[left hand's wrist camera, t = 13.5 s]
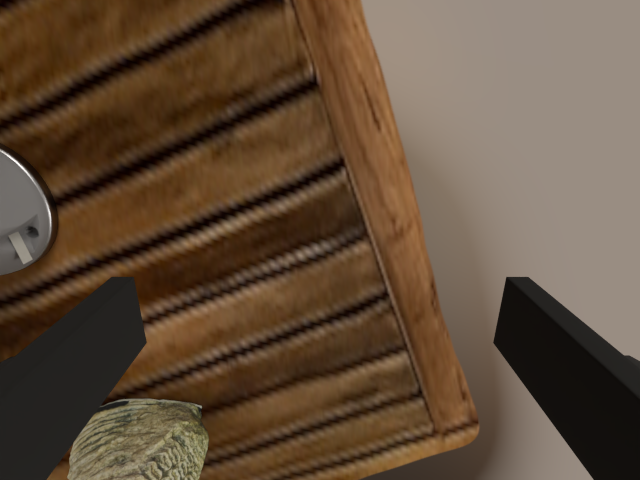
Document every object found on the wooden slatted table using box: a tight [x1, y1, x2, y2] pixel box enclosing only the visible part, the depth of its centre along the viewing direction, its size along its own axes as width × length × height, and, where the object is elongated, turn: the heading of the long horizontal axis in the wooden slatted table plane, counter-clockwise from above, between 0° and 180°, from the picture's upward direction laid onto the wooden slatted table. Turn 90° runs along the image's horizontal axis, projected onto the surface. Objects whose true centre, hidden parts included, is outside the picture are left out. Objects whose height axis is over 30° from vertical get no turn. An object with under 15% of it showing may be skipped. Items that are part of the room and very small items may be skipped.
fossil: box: [67, 399, 209, 480], centre depth 44 cm, size 9×18×15 cm, turn 106°
